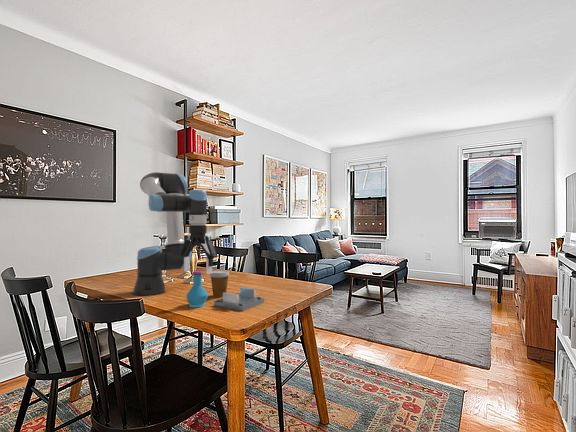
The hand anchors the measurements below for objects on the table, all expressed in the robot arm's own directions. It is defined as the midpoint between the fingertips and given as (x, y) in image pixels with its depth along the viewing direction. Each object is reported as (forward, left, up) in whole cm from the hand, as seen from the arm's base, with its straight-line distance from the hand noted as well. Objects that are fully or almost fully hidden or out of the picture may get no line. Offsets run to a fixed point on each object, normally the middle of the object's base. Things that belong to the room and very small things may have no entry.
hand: (197, 272), depth 143 cm
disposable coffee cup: (-3, +18, -15) cm, 24 cm away
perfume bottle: (0, 0, -15) cm, 15 cm away
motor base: (+15, +11, -15) cm, 23 cm away
